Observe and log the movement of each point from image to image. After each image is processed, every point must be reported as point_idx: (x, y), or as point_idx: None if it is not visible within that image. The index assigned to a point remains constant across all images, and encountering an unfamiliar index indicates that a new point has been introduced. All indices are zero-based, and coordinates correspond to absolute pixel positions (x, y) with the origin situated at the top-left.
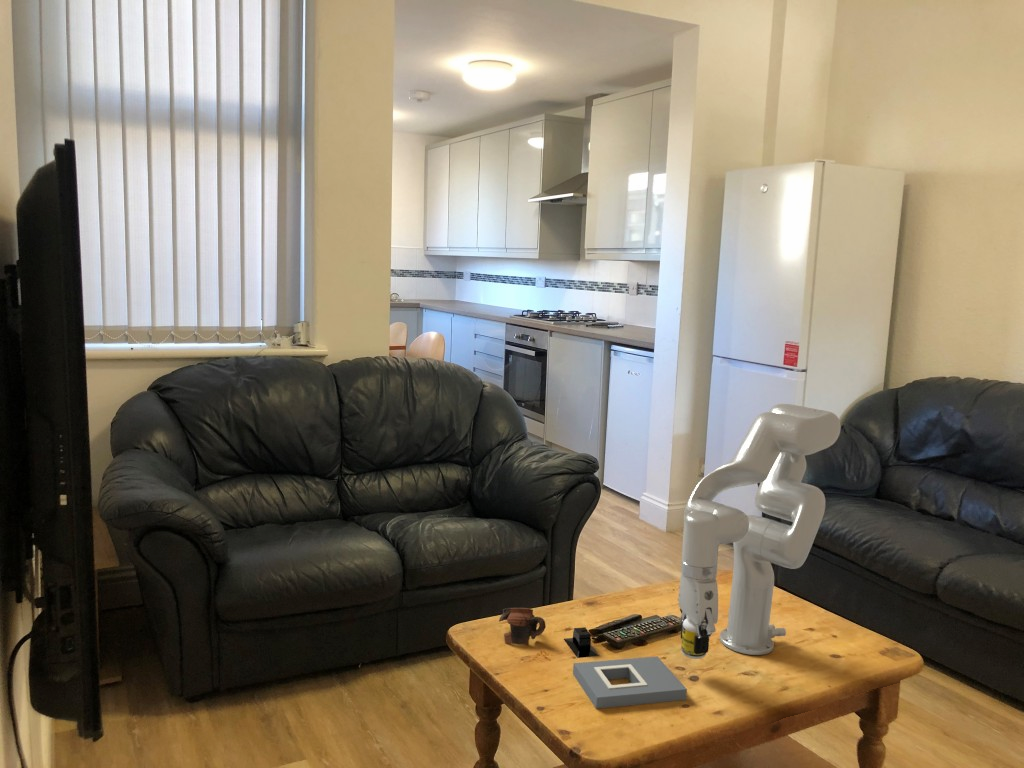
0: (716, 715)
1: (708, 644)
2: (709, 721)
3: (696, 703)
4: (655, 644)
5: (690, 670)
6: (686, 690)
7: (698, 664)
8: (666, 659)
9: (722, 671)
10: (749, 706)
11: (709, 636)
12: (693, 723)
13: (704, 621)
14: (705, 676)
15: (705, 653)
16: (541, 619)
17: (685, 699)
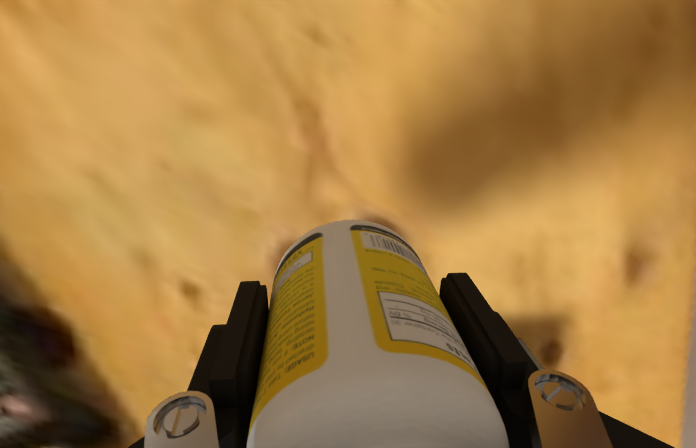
0: (648, 279)
1: (488, 306)
2: (665, 318)
3: (553, 312)
4: (56, 279)
5: (316, 225)
6: (540, 366)
7: (264, 160)
8: (208, 287)
9: (348, 64)
10: (661, 108)
11: (572, 386)
12: (649, 369)
13: (423, 441)
14: (378, 182)
15: (410, 248)
16: None
17: (521, 341)
